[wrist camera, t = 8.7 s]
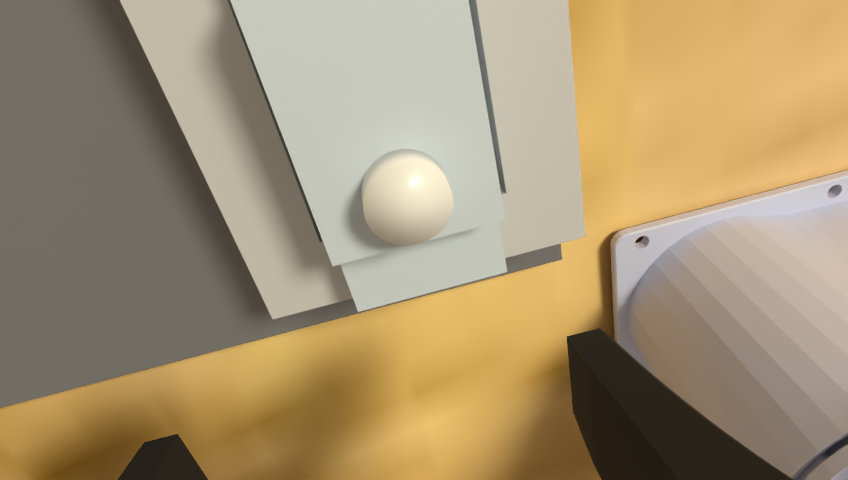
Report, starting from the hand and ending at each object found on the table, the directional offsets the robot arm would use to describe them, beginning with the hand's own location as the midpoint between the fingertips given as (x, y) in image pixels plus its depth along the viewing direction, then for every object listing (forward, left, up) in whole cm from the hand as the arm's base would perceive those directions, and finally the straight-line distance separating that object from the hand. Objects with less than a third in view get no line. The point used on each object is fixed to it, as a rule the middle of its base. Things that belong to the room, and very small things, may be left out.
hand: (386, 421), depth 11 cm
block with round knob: (-1, -4, -8) cm, 9 cm away
